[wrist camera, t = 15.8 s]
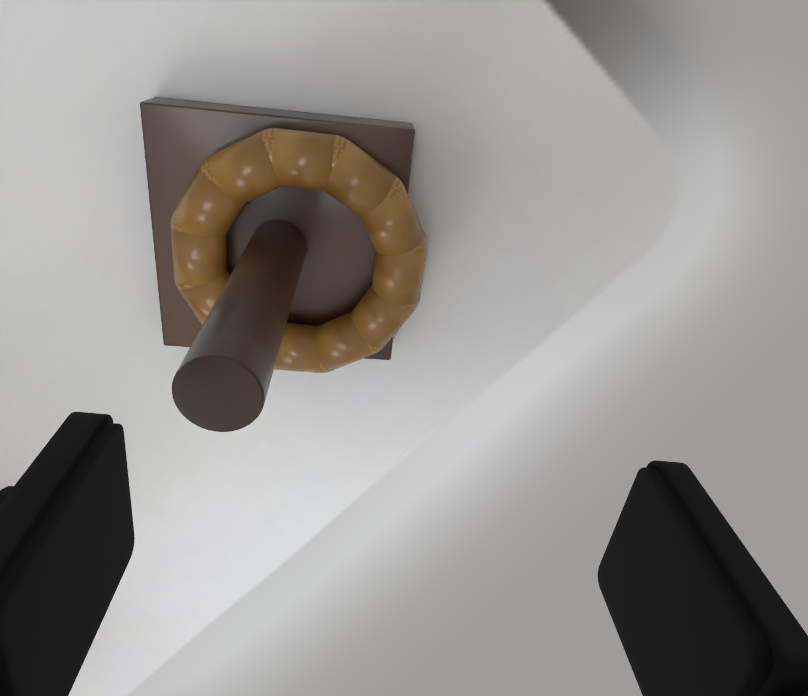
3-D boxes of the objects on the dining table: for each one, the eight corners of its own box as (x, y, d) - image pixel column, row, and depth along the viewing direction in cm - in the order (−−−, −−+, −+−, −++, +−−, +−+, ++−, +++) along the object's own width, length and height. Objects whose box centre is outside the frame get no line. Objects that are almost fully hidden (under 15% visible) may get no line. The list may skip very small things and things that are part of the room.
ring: (438, 142, 20) (444, 152, 19) (407, 364, 25) (409, 388, 23) (172, 111, 20) (155, 119, 18) (186, 347, 24) (173, 370, 22)
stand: (412, 122, 22) (448, 212, 11) (389, 343, 26) (401, 550, 16) (153, 96, 21) (-53, 168, 11) (174, 328, 25) (40, 537, 15)
